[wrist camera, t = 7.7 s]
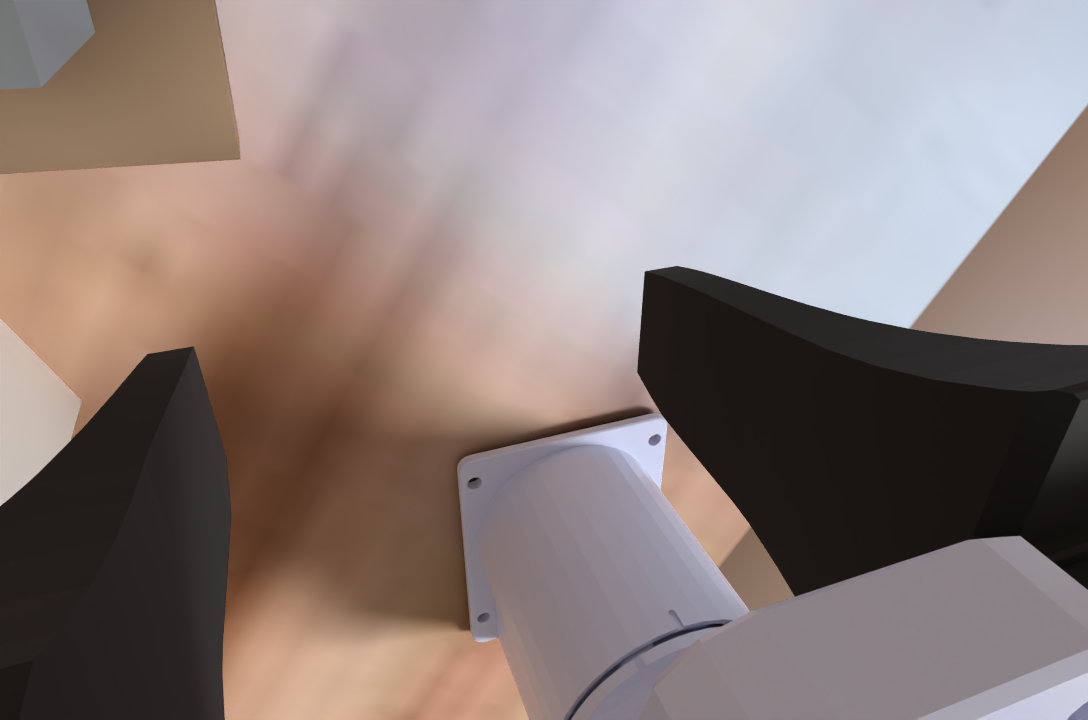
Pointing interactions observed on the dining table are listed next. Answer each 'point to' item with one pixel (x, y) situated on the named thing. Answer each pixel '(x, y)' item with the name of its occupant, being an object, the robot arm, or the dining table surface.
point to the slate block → (39, 39)
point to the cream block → (30, 413)
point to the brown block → (128, 94)
